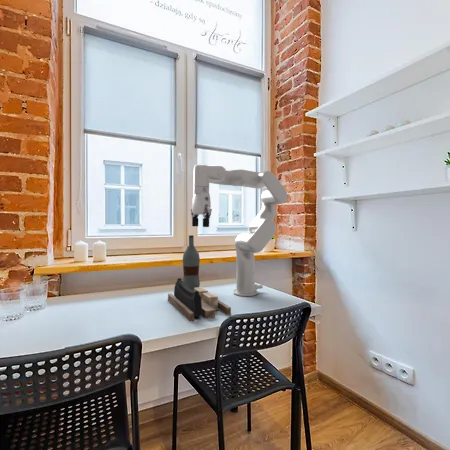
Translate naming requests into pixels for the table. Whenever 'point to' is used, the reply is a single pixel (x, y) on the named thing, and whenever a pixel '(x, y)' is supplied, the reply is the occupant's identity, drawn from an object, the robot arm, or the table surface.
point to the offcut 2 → (210, 300)
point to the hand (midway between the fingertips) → (200, 226)
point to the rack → (206, 309)
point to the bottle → (191, 265)
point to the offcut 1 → (200, 291)
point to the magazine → (188, 297)
